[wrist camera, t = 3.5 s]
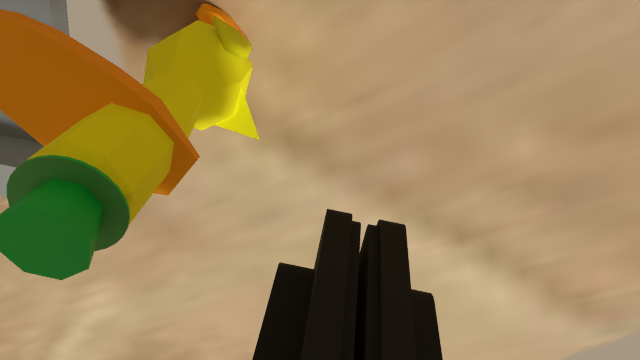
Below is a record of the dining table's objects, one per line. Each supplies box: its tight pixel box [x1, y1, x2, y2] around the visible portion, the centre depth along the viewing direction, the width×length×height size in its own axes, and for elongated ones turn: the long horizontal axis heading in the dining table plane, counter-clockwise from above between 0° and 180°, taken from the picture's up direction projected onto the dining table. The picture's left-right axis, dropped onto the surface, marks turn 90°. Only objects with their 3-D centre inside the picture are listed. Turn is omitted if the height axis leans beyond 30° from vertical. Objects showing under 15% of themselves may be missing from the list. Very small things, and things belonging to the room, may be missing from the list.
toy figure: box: [0, 3, 259, 280], centre depth 13 cm, size 7×4×12 cm, turn 50°
